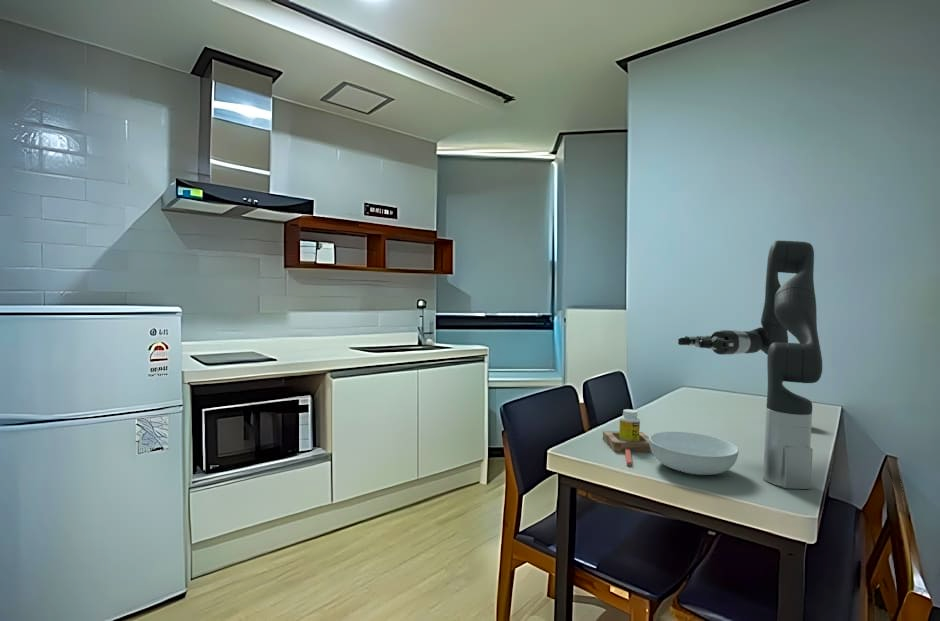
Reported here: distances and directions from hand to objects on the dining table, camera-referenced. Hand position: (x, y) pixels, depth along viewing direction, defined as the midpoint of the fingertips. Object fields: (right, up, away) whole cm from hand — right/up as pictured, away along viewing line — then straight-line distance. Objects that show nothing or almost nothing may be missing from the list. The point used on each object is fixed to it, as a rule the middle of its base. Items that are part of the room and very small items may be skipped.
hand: (689, 342), depth 154 cm
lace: (-24, -30, -18) cm, 42 cm away
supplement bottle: (-20, -30, -5) cm, 36 cm away
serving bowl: (-10, -31, -24) cm, 41 cm away
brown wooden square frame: (-20, -30, -6) cm, 36 cm away
